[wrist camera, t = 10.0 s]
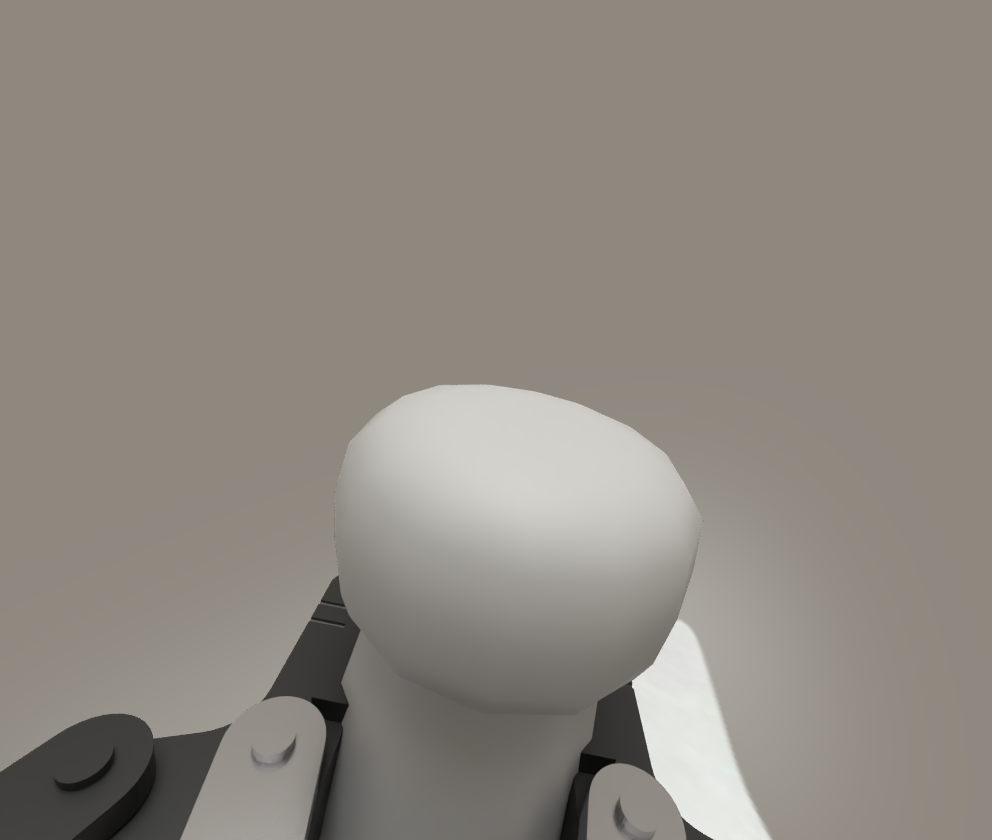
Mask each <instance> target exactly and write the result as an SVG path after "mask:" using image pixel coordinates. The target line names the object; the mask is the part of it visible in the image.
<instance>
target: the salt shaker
mask: <svg viewBox="0 0 992 840" xmlns="http://www.w3.org/2000/svg"><path fill="white" fill-rule="evenodd" d="M702 526H703V519H702V517H701V515H700V513H699V511H698V509H697V507H696V505H695V503H694V502H693V500H692V498H691V496H690V494H689V492H688V490H687V488H686V486H685V484H684V483H683V481H682V479H681V478H680V476H679V475H678V473H677V471H676V470H675V468H674V466H673V465H672V463H671V461H670V460H669V458H668V456H667V455H666V454H665V453H664V452H663V451H661V450H660V449H659V448H657V447H656V446H655V445H653V444H652V443H651V442H649V441H648V440H647V439H645V438H644V437H642V436H641V435H640V434H639V433H637V432H636V431H635V430H634V429H632V428H631V427H629V426H627V425H624V424H622V423H620V422H618V421H616V420H614V419H611V418H609V417H607V416H605V415H603V414H600V413H598V412H596V411H594V410H592V409H589V408H587V407H585V406H583V405H580V404H577V403H574V402H571V401H567V400H564V399H560V398H556V397H553V396H549V395H545V394H542V393H539V392H534V391H528V390H521V389H514V388H508V387H501V386H494V385H439V386H436V387H432V388H429V389H425V390H422V391H419V392H415V393H413V394H409V395H406V396H403V397H401V398H400V399H399V400H397V401H395V402H394V403H392V404H391V405H389V406H388V407H386V408H385V409H383V410H382V411H380V412H379V413H377V414H376V415H375V416H374V417H373V418H372V419H371V420H370V421H369V422H368V423H367V424H366V426H365V427H364V428H363V429H362V430H361V431H360V432H359V433H358V434H357V435H356V436H355V437H354V438H353V439H352V440H351V441H350V442H349V446H348V449H347V452H346V456H345V459H344V462H343V466H342V469H341V472H340V476H339V479H338V482H337V485H336V489H335V521H334V538H335V547H336V556H337V565H338V574H339V583H340V592H341V596H342V599H343V601H344V604H345V607H346V609H347V612H348V614H349V616H350V617H351V619H352V620H353V621H354V622H355V624H356V625H357V626H358V627H359V629H360V630H361V631H360V633H359V636H358V639H357V641H356V644H355V647H354V649H353V652H352V655H351V657H350V660H349V663H348V665H347V668H346V671H345V674H344V676H343V679H342V682H341V684H342V686H343V689H344V692H345V695H346V697H347V700H348V703H349V706H348V709H347V711H346V714H345V716H344V718H343V721H342V726H343V732H342V737H341V742H340V747H339V751H338V756H337V760H336V765H335V770H334V774H333V779H332V783H331V788H330V793H329V797H328V802H327V806H326V811H325V816H324V820H323V825H322V831H321V835H320V838H319V840H560V835H561V831H562V826H563V821H564V817H565V812H566V808H567V803H568V798H569V794H570V790H571V787H572V783H573V779H574V776H575V775H576V774H577V773H578V770H579V762H580V753H581V751H582V750H583V749H584V748H585V746H586V745H587V744H588V743H589V742H590V740H591V739H592V734H593V728H594V721H595V715H596V708H597V702H598V701H599V700H600V699H602V698H604V697H605V696H607V695H609V694H610V693H612V692H614V691H615V690H617V689H619V688H620V687H622V686H624V685H625V684H627V683H629V682H630V681H632V680H634V679H635V678H636V677H637V676H639V675H640V674H641V673H642V672H644V671H645V670H646V669H647V668H649V667H650V666H651V665H652V664H653V663H654V661H655V659H656V657H657V656H658V654H659V652H660V650H661V648H662V646H663V645H664V643H665V641H666V639H667V637H668V635H669V633H670V632H671V630H672V628H673V626H674V624H675V622H676V620H677V618H678V615H679V612H680V609H681V606H682V603H683V600H684V597H685V593H686V591H687V588H688V584H689V581H690V578H691V575H692V572H693V568H694V563H695V559H696V554H697V549H698V544H699V540H700V535H701V530H702Z"/></svg>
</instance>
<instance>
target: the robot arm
mask: <svg viewBox="0 0 992 840" xmlns="http://www.w3.org/2000/svg"><path fill="white" fill-rule="evenodd" d="M360 631H361V630H360V629H359V627H358V626H357V625H356V624H355V622H354V621H353V620H352V619H351V617H350V616H349V614H348V612H347V609H346V607H345V604H344V601H343V599H342V596H341V592H340V583H339V575H338V576H337V577H336V578H335V579H333V580H332V582H331V583H330V585H329V587H328V589H327V590H326V592H325V594H324V596H323V597H322V599H321V603H320V604H319V605H318V606H317V608H316V610H315V612H314V614H313V615H312V617H311V621H309V622H308V624H307V626H306V628H305V630H304V631H303V633H302V635H301V636H300V638H299V640H298V642H297V644H296V645H295V647H294V649H293V651H292V652H291V654H290V656H289V658H288V659H287V661H286V663H285V665H284V666H283V668H282V670H281V672H280V673H279V675H278V677H277V679H276V681H275V683H274V684H273V686H272V688H271V689H270V691H269V693H268V694H267V695H266V697H265V698H264V699H263V700H262V702H260V703H258V704H255V705H254V706H252V707H251V708H249V709H247V710H246V711H245V712H243V713H242V714H241V715H240V716H239V717H238V718H237V719H236V720H235V721H234V722H233V723H231V724H229V725H227V726H224V727H222V728H218V729H215V730H212V731H207V732H202V733H194V734H187V735H179V736H171V737H163V738H156V739H153V735H152V732H151V730H150V728H149V726H148V725H147V724H146V723H145V722H144V721H143V720H141V719H140V718H137V717H135V716H132V715H126V714H108V715H102V716H98V717H94V718H90V719H88V720H85V721H82V722H80V723H78V724H75V725H74V726H71V727H69V728H67V729H66V730H64V731H62V732H61V733H59V734H57V735H56V736H54V737H53V738H51V739H50V740H48V741H47V742H45V743H44V744H42V745H41V746H39V747H38V748H36V749H34V750H33V751H31V752H30V753H29V754H27V755H25V756H24V757H23V758H21V759H19V760H18V761H16V762H15V763H13V764H12V765H11V766H9V767H7V768H6V769H4V770H3V771H1V772H0V840H319V838H320V835H321V831H322V825H323V820H324V816H325V811H326V806H327V802H328V797H329V793H330V788H331V783H332V779H333V774H334V770H335V765H336V760H337V756H338V751H339V747H340V742H341V737H342V732H343V726H342V721H343V718H344V716H345V714H346V711H347V709H348V706H349V703H348V700H347V697H346V695H345V692H344V689H343V686H342V684H341V682H342V679H343V676H344V674H345V671H346V668H347V665H348V663H349V660H350V657H351V655H352V652H353V649H354V647H355V644H356V641H357V639H358V636H359V633H360ZM560 840H713V839H711V838H710V837H708V836H706V835H704V834H703V833H701V832H700V831H698V830H697V829H695V828H694V827H693V826H691V825H690V824H689V823H688V822H686V821H685V820H684V819H683V818H682V817H681V815H680V812H679V810H678V808H677V806H676V804H675V803H674V801H673V799H672V798H671V796H670V795H669V793H668V792H667V791H666V790H665V788H664V787H663V786H662V785H661V784H660V783H659V782H658V781H657V780H656V779H655V776H654V773H653V770H652V766H651V762H650V758H649V753H648V749H647V745H646V740H645V736H644V732H643V727H642V723H641V719H640V714H639V710H638V706H637V701H636V697H635V693H634V689H633V688H632V681H630V682H629V683H627V684H625V685H624V686H622V687H620V688H619V689H617V690H615V691H614V692H612V693H610V694H609V695H607V696H605V697H604V698H602V699H600V700H599V701H598V702H597V708H596V715H595V721H594V728H593V734H592V739H591V740H590V742H589V743H588V744H587V745H586V746H585V748H584V749H583V750H582V751H581V753H580V762H579V770H578V773H577V774H576V775H575V776H574V779H573V783H572V787H571V790H570V794H569V798H568V803H567V808H566V812H565V817H564V821H563V826H562V831H561V835H560Z"/></svg>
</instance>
